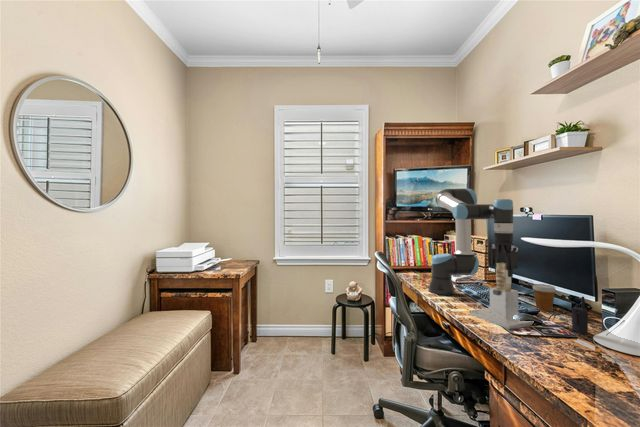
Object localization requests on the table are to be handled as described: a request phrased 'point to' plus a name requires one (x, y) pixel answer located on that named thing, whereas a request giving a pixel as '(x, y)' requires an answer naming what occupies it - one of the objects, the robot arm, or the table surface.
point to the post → (502, 277)
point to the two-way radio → (580, 318)
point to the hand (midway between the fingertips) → (503, 282)
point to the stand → (502, 309)
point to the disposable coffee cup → (544, 296)
